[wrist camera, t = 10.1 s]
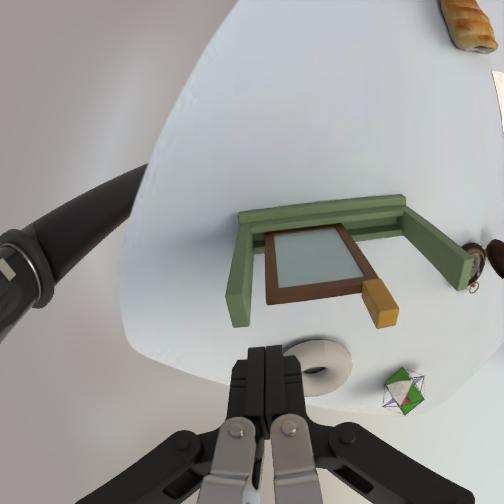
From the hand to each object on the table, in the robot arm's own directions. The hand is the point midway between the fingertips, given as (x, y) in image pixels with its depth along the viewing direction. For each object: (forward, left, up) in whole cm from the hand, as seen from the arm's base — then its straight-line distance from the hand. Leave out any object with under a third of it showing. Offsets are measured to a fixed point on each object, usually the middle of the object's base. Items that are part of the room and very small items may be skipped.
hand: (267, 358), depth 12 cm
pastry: (+25, +22, -16) cm, 37 cm away
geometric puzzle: (+18, -27, -16) cm, 36 cm away
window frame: (+6, 0, -16) cm, 17 cm away
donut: (+4, -19, -16) cm, 25 cm away
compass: (+26, -8, -16) cm, 31 cm away
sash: (+3, 0, -14) cm, 15 cm away
